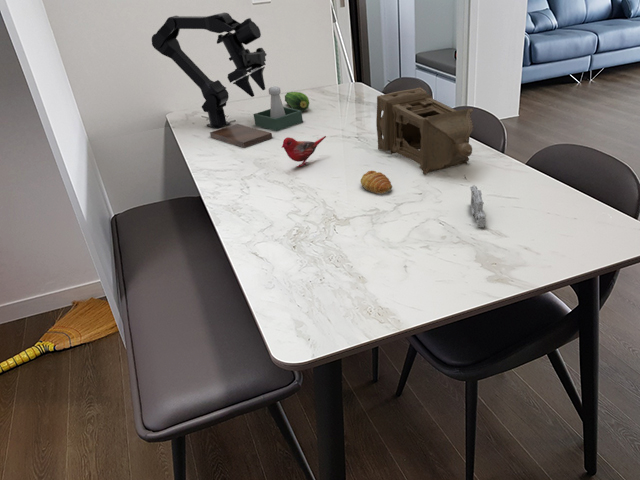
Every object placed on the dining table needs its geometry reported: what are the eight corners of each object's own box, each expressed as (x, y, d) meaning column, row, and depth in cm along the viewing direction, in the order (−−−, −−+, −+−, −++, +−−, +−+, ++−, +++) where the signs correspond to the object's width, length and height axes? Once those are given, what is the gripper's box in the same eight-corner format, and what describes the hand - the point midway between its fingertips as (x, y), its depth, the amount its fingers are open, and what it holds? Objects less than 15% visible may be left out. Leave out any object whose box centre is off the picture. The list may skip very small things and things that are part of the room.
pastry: (398, 191, 139) (398, 177, 137) (377, 198, 137) (376, 184, 135) (378, 180, 146) (378, 167, 144) (357, 186, 144) (356, 173, 142)
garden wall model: (485, 228, 119) (487, 204, 116) (477, 228, 119) (478, 204, 116) (476, 205, 129) (477, 182, 126) (468, 205, 129) (470, 182, 126)
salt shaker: (271, 121, 201) (266, 86, 194) (286, 120, 201) (282, 84, 194) (270, 126, 196) (265, 89, 189) (286, 124, 196) (281, 88, 189)
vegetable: (296, 92, 203) (283, 82, 219) (290, 110, 205) (277, 99, 222) (314, 98, 207) (299, 88, 223) (307, 116, 209) (294, 105, 225)
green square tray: (255, 125, 199) (253, 114, 196) (281, 117, 206) (279, 105, 204) (276, 131, 191) (274, 119, 189) (302, 122, 198) (301, 110, 196)
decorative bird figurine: (281, 172, 156) (277, 139, 151) (324, 154, 167) (321, 122, 162) (288, 174, 154) (283, 140, 149) (331, 156, 165) (328, 124, 160)
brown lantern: (489, 182, 146) (502, 115, 138) (435, 189, 139) (446, 118, 130) (419, 145, 173) (427, 86, 164) (371, 149, 166) (377, 88, 157)
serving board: (210, 137, 190) (209, 132, 189) (238, 128, 197) (237, 123, 196) (244, 147, 177) (243, 142, 177) (272, 138, 185) (271, 132, 184)
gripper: (242, 45, 173) (265, 90, 179) (266, 35, 188) (287, 77, 194) (216, 59, 178) (240, 103, 184) (242, 49, 194) (263, 89, 199)
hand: (258, 93), depth 190 cm, fingers open, 9 cm apart
